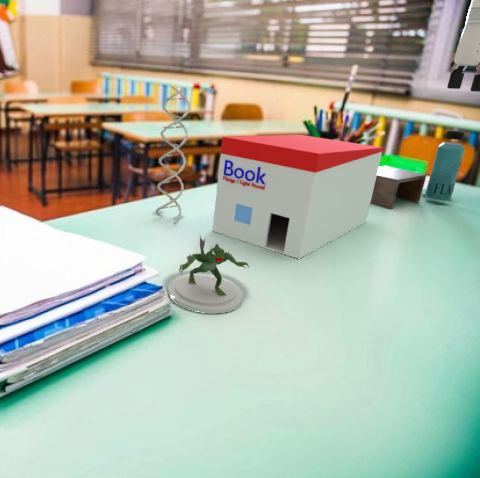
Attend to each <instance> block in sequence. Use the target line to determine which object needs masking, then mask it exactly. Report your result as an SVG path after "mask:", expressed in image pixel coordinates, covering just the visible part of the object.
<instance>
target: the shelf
mask: <svg viewBox="0 0 480 478" xmlns="http://www.w3.org/2000/svg"><path fill="white" fill-rule="evenodd" d="M426 178H427V174H424V173H420V172H415V171H410V170H406V169H402V168H398V167H393V166H388V165H381V166H380V165H379V168H378V172H377V176H376V181H375V185H374V189H373V193H372V198H371V202H370V205H374V206H377V207H381V208H385V209H388V210H392V209H393V208H394V206H395V201H396V199H398V200H402V201H407V202H411V203H414V204H420V202H421V201H420V200H421V197H422V194H423V190H424V186H425V182H426Z"/></svg>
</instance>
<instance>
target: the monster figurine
mask: <svg viewBox="0 0 480 478" xmlns="http://www.w3.org/2000/svg"><path fill="white" fill-rule="evenodd" d="M205 244H206V237H204V238H202V237H201V235H199V248H200V253H192V254H190V253H188V254H189V255H188V256H186V259H187V261H186V262H185V263H183V264H180V265H179V269H178V271H179V273H180V274H181V275H182V274H183V272H184V271H186V270H187V269H188V268H189V267H190V266H191V265H192V264H193V263H194V262H195V261H197V262H199V263H201V264H200V265H199V266H198V267H194V268H193V269H191V270H190V272H189V275H184V276H180V277H178V278H176V279H174V280H171V282H170V283H169V285H168V289H167V294H168V293H169V294H170V295H173V296H175V299H173V300H174V301H175V302H176V303H177V304H178V305H180V306H182V307H184V308H186V309H190V310H193V311H199V312H204V313H224V314H226V313H225V312H228V313H231V312H230V311H232V310H234V311H236V310H237V309H236V308H238V307H239V306H240V307H241V305H242V304H241V303H243V299H244V297H243V296H244V295H243V292H242V291H241V289H240V288H239V287H238V286H237V285H235V284H234V283H232V282H230V281H228V280H225V279H223V278H222V275H221V272H220V270H219V268H218V267H217V265H218V266H219V265H221V264H222V263H225V262H227V261H229V262H231V263H232V264H234V265H235V266H237V267H239V268H240V267H242V268H244V269H247V268H246V267H245V266H247V267H248V268H250V265H249V264H248V262H247V261H246V262H245V261H237V260H236V259H235V257H234V256H233V254H232V253H230V251H228V252H227V251H225V250H224V249H223V248H222V247H220V245H219V243H214V246H213V244H212V246H211V245H209V246H210V248H208V249H209V251H207V252H206V253H205V250H204V249H205ZM207 272H211V274H212V275H213V276H210V275H204V274H203V275H201V274H200V275H199V274H198V273H207ZM178 305H177V306H178ZM180 306H179V307H180ZM182 307H181V308H182ZM240 307H239V308H240ZM184 308H183V309H184ZM239 308H238V309H239ZM186 309H185V310H186ZM235 309H236V310H235ZM193 311H192V312H193ZM232 312H233V311H232Z"/></svg>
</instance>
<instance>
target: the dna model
mask: <svg viewBox="0 0 480 478" xmlns="http://www.w3.org/2000/svg"><path fill="white" fill-rule="evenodd" d="M171 89H172V90H173V91H175V93H173V94H171V95H170V96H168V97H166V99H165V100H163V102H162V110H163V111H164V112H165V114H166V115H168V116H169V117H170V118H172V119H173V120H174V121H173V122H172V123H170V124H169V125H166V126H163V129H162V130H161V131H160V136H161V138H162V140H163V141H164V142H165V143H167V144H168V145H169V146H171V147H172V148H173V149H171V150H169V151H168V152H165V153H164V154H162V155H161V156H160V157H159V158H158V164H159V165H160V166H161V167H163V168H164V169H165V170H166V171H167V172H169V173H170V174H171V176H168V177H166V178H165V179H163V180H161V181H160V182H159V183H158V184H157V185H156V188H157V189H158V191H159V192H161V194H163V195H164V196H166V197H167V198H169V201H168V202H166V203H165V204H163V205H161V206H159V207H157V208H156V209H155V214H156V215H157V216H159V217H161V218H164V216H163V215H162V214H161V213H160V212H159V211H160V210H163V209H164V210H165V209H169V208H176V207H177V209H178V212H179V213H178V216H177V218H176V219H175V221H174V222H173V223H172V225H173V224H175V225H177V223H179V221H180V220H181V217H182V207H181V205H180V204H179V203H178V201H177V200H178V199H179V198H180V197H181V196H182V195H183V192H184V189H185V188H184V187H185V186H184V185H185V184H184V183H183V181H182V179H181V178H180V176H178V175H179V174H180V173H181V172H183V170H184V169H185V167H186V164H187V159H186V157H185V155H184V154H185V152H183V151H181V149H180V148H181V147H182V146H184V144H186V142H187V140H188V137H189V133H188V129H187V127H186V126H185V125H184V123H182V122H181V121H182V120H183V119H185V117H187V116H188V114H189V113H190V111H191V109H192V108H191V102H190V101H189V99H188V96H186V95H185V94H184V93H182V92H183V91H185V88H184V87H183V88H181V89H178V88H176V87H175V86H174V85H172V86H171ZM178 95H180V96H181V97H179V98H175V97H176V96H178ZM176 100H179V101H181V100H182V101H183V100H184V101H185V102H186V106H187V109H186V111H185V112H184V113H183V115H180V116H179V115H175V114H173V113H171V112H170V111H169V110H168V109H167V108H166V104H167V103H168V102H169V101H176ZM177 124H179V125H177ZM174 125H175V126H174ZM179 128H182V129H183V130H184V131H183V132H184V133H185V136H184V139H183V140H182V141H181V142H180V144H178V143H177V144H176V143H174V142H172V141H170V140H169V139H167V138H166V137H165V134H164V133H165V132H166V131H167V130H169V129H179ZM176 151H177V153H176ZM172 153H174V154H172ZM173 156H181V158H182V161H183V162H182V166H180V168H179V169H178V171H175V170H174V169H171V168H169V167H168V166H167V165H165V164H164V163H163V162H162V161H163V159H164V158H167V157H173ZM173 178H175V179H173ZM172 179H173V180H172ZM171 182H179V184H180V191H179V193H178V194H177V195H176V196H175V197H173V196H171V195H170V194H169V193H167V192H166V191H164V190H163V189H162V188H161V186H162V185H164V184H168V183H171ZM173 203H174V204H175V205H171V204H173Z"/></svg>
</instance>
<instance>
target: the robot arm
mask: <svg viewBox="0 0 480 478" xmlns="http://www.w3.org/2000/svg"><path fill="white" fill-rule="evenodd" d="M458 41H459V42H458V44H457V47H456V50H455V52H454V53H452V54H451V57H450V61H451V62H450V67H451V68H450V70H449V71H450V75H449V78H448V83H447V86H446V87H447V89H450V90H451V89H453V90H454V89H455V90H459V89H461V87H462V84H463V80H464V78H465V77H464V76H465V70H466V69H467V68H468V67H475V69H476V73H475V74H474V76H473V80H472V83H471V86H470V90H469V91H470V92H476V93H477V92H478V93H480V0H471V2H470V6H469V9H468V13H467V16H466V21H465V26H464V28H463V30H462V33H461V36H460V39H459V40H458Z"/></svg>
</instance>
